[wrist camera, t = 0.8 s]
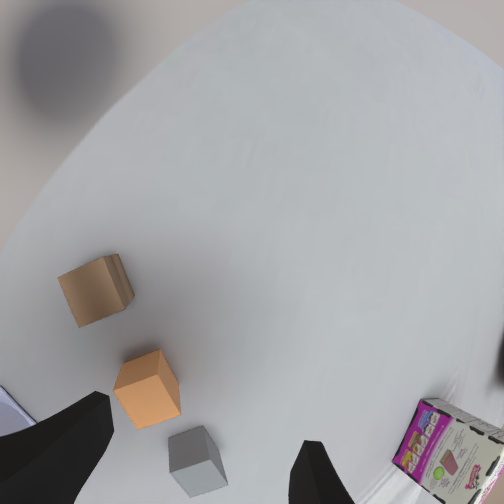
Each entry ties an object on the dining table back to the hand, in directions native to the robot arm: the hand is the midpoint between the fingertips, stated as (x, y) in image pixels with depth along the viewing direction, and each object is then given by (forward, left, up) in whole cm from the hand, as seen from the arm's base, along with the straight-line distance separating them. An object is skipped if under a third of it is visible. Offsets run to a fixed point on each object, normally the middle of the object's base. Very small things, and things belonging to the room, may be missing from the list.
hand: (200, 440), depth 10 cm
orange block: (-6, -2, -19) cm, 20 cm away
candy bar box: (+10, -36, -19) cm, 42 cm away
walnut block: (-3, +7, -19) cm, 20 cm away
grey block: (-9, -11, -19) cm, 23 cm away
